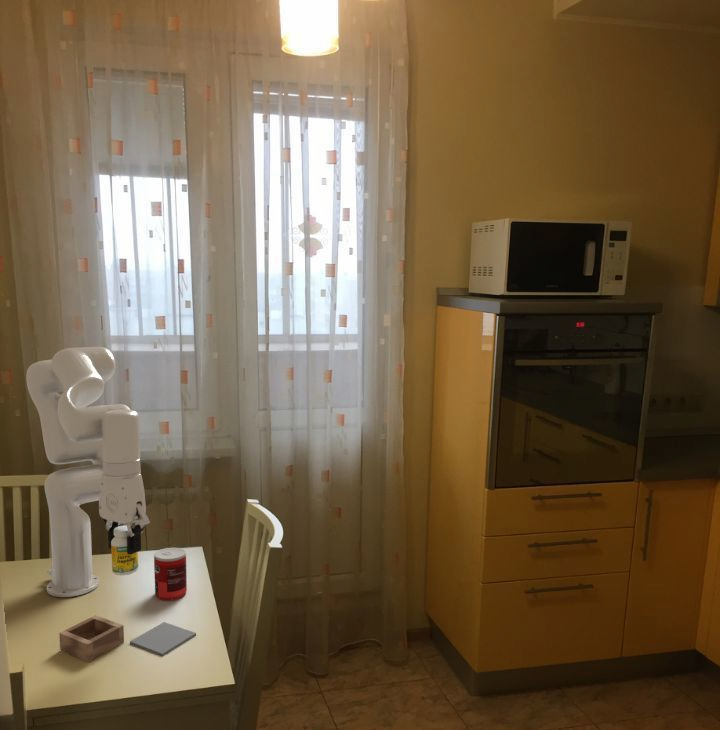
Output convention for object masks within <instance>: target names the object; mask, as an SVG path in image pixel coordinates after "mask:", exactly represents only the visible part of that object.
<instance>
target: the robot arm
mask: <svg viewBox="0 0 720 730" xmlns="http://www.w3.org/2000/svg"><path fill="white" fill-rule="evenodd" d="M115 370H116V360H115V356H114V355H113V353H112V352H111V351H110V350H109V349H108V348H106V347H104V346H84V347H69V348H68V347H67V348H63V349H61V350H59V351H57V352H56V353H55V354H54V356H53V357H52V358H51V359H47V360H45V359H44V360H40V361H36V362H34V363H32V364H30V365H29V366H28V368H27V370H26V377H25V378H26V385H27V390H28V394H29V396H30V398H31V400H32V402H33V404H34V405H35V408H36V410H37V413H38V416H39V419H40V425H41V431H42V433H41V434H42V438H43V440H42V441H43V444H44V445H43V446H44V450H45V455H46V458H47V460H48V461H49V463H50V464H52V465H53V464H54V465H66V464H73V463H80V462H86V461H91V462H92V464H89V465H83V466H82V465H81V466H73V467H69V468H64V469H58V470H56V471H53V472H52V473H50V474H49V475H48V476H47V477H46V479H45V481H44V494H45V497H46V501H47V506H48V512H49V513H48V514H49V524H50V542H51V543H50V544H51V548H50V549H51V562H52V563H51V565H52V566H51V569H50V568H49V569H47V570H46V575H49V576H50V577H51V580H50V582H49V583H48V584H47V586H46V592H47V594H48V595H50V596H51V597H56V598H71V597H76V596H81V595H85V594H87V593H90V592H92V591H94V590H95V589H96V588H97V587H98V586H99V585H100V577H99V576H98V575H96V574H93V557H92V555H93V553H92V529H91V528H92V526H91V525H92V524H91V519H90V516H89V515H88V513H86V512H85V511H84V510H83V509H82V508H81V507H80V506H81V505H83V504H86V503H91V502H92V503H93V502H96V501H98V513H99V516H100V518H102V520H103V522H104V523H105V530H107V539H108V540H107V541H108V543H107V544H108V548H109V549H110V550H111V541H112V539H113V538H114V537H115V536H114V529H115V528H116V527H119V526H121V524H122V525H127V529H128V533H129V536H127V553H128V554H130V555H131V554H133V553H136V552H138V553H139V552H140V551H141V550H142V535H141V534H143V532H144V530H145V528H146V527H147V526H148V525H149V524H150V522H151V521H150V519H149V516H148V515H147V514H146V513H147V512H146V507H147V506H146V505H147V504H146V497H145V496H146V494H145V487H144V482H143V480H144V479H143V477H142V476H143V475H142V474H141V469H142V467H141V449H140V448H141V445H140V444H141V441H140V418H139V414H138V412H137V411H136V410H134V409H133V410H132V409H130V407H129V406H127V405H126V404H124V403H117V404H116V403H115V404H106V405H103V404H101V405H94V406H90V405H91V404H93V403H95V402H96V401H97V400H99V398H101V396H102V395H103V394H104V391H105V383H106V382H108V381H109V380H110V379H111V378H112V377H113V376H114V374H115V372H116V371H115ZM60 392H62V393H61V394H60ZM133 524H135V526H133Z"/></svg>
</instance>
